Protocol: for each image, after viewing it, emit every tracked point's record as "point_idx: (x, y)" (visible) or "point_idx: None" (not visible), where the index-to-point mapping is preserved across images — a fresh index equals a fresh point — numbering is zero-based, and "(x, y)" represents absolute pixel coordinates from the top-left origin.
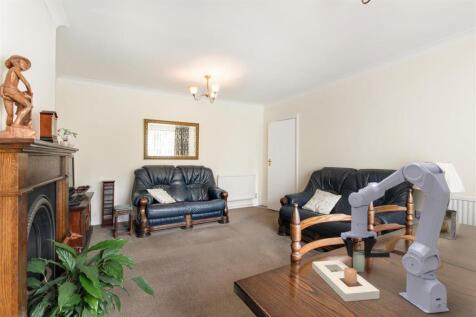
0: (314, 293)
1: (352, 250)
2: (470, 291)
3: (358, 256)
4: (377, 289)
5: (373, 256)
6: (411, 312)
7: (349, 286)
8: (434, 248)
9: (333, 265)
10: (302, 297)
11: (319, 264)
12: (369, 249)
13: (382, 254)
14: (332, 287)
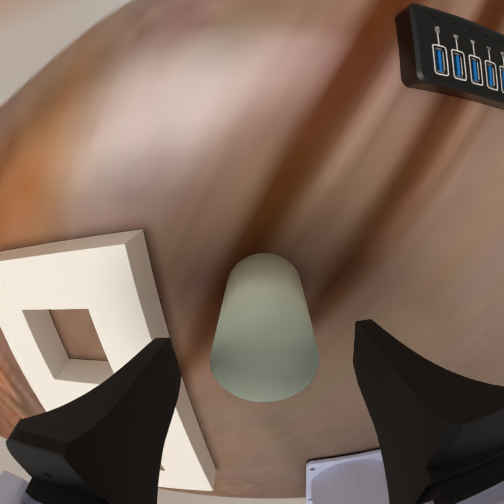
0: (24, 410)
1: (160, 436)
2: None
3: (236, 391)
4: (210, 486)
5: (496, 106)
6: (270, 498)
7: None
8: None
9: (73, 305)
10: (3, 412)
11: (4, 298)
12: (374, 419)
13: None
14: None
